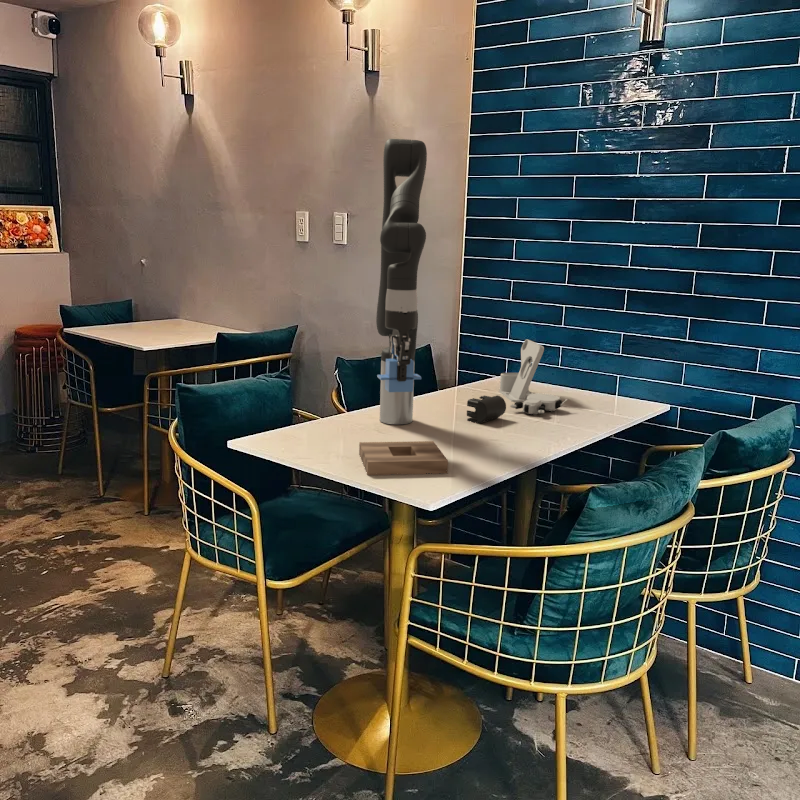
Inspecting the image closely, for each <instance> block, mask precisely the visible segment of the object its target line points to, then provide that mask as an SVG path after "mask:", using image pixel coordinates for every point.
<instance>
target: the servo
mask: <svg viewBox="0 0 800 800" xmlns="http://www.w3.org/2000/svg"><path fill="white" fill-rule="evenodd" d="M403 359H405V357H404V356H403ZM376 376H377V378H378V379H379V380H380V381H381V380H385V389H386V390H387V391H388V392H413V380H414V381H415V380H422V376H421V375H420V374H418V373H415V360H414V361H413V360H411V359H410V364H408V366H407V374H406V381H397V359H386V371H385V375H381V374H377V375H376ZM413 393H414V392H413Z"/></svg>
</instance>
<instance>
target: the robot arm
mask: <svg viewBox="0 0 800 800" xmlns="http://www.w3.org/2000/svg"><path fill="white" fill-rule="evenodd" d="M383 147H384V148H383V209H382V210H383V212H382V223H381V231H380V235H379V236H380V237H379V241H380V274H379V275H380V279H379V289H378V295H377V296H378V297H377V298H378V299H377V304H376V305H377V306H376V318H375V319H376V322H375V323H376V329H377V332H378V334H379V335H380V336H382V337H388V344H389V346H387V347H385V348H383V349H382V351H381V352H380V353H381V355H380V360H381V361H380V375H385V371H386V359H397V381H406V374H407V366H408V364H410V359H411V360H413V361H414V362H415V360H416V359H415V357H416V349H417V335H418V324H419V313H418V312H419V311H418V294H417V293H418V292H417V287H418V285H417V284H418V282H417V281H418V271H419V270H418V269H419V263H420V260H421V256H422V253H423V250H424V247H425V244H426V239H427V233H426V229H425V227H424V225H422V224H421V223H419V219H420V198H421V193H422V190H423V189H422V188H423V185H424V181H425V174H426V170H427V159H428V157H427V156H428V153H427V146H426V144H425V142H424V141H422V140H417V139H407V138H406V139H405V138H402V139H401V138H389V139H387V140H386V141H385V144H384V146H383ZM396 177H403V178H404V177H405V178H406V179H405V180H404V181H402V182H401V184H399V186H397V183H396ZM403 356H404V357H405V359H403ZM414 387H415V379H414V380H413V392H388V391H387V390H386V389H385V380H380V391H379V394H380V395H379V396H380V397H379V398H380V400H379V422H381V423H383V424H388V425H407V424H411V423H412V422H413V417H414V416H413V415H414V414H413V413H414Z"/></svg>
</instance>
